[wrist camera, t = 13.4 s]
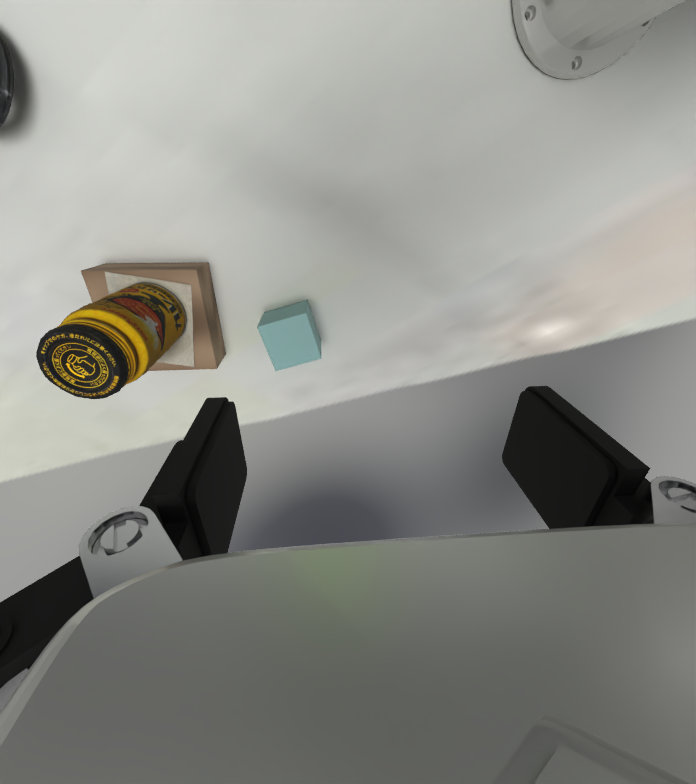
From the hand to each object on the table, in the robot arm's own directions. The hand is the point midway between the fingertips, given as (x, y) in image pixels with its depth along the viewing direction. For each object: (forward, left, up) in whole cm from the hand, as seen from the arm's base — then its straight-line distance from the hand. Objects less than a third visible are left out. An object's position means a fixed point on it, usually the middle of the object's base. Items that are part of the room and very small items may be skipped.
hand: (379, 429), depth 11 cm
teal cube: (+6, -5, -28) cm, 29 cm away
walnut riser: (+4, -18, -28) cm, 34 cm away
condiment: (+4, -18, -24) cm, 31 cm away
